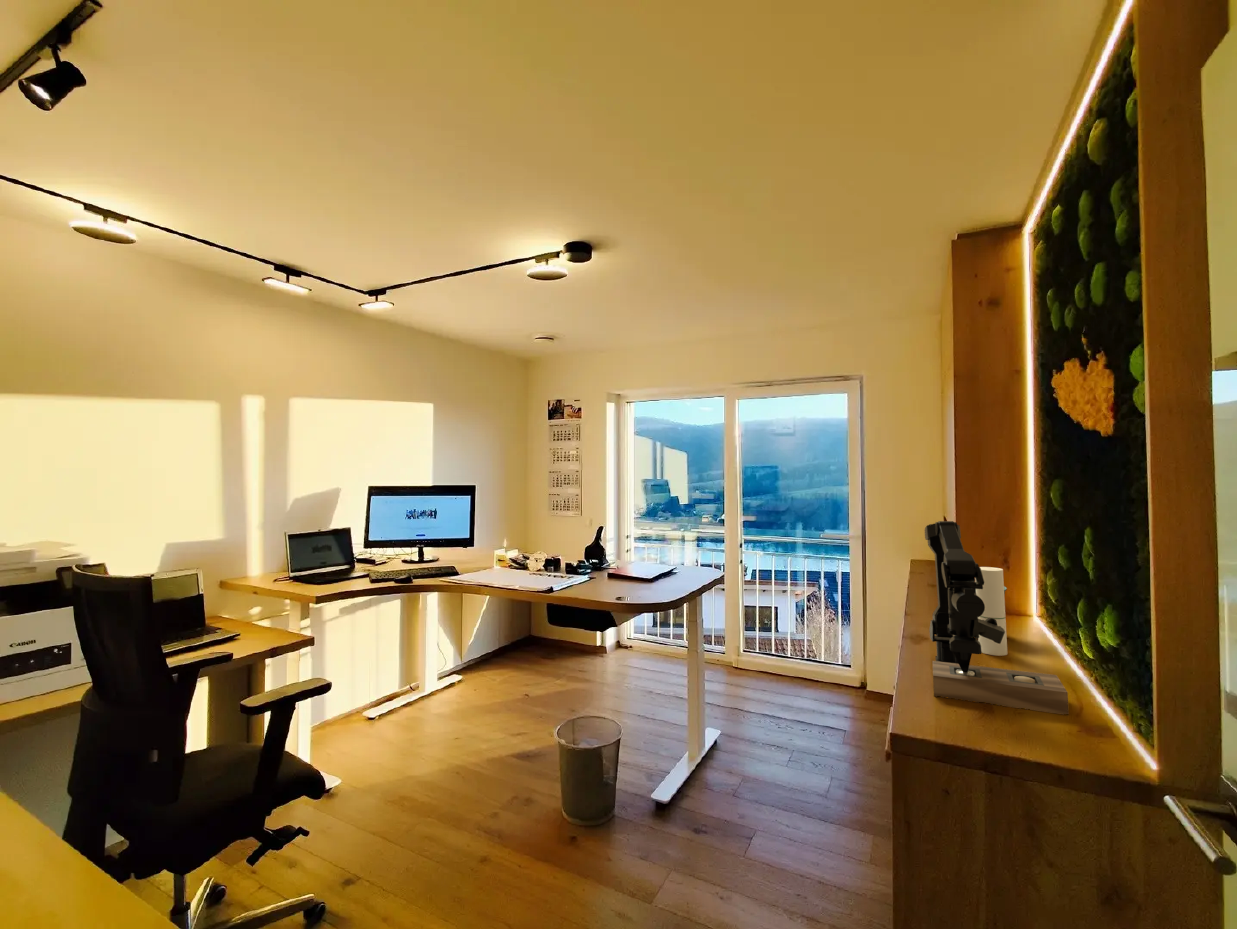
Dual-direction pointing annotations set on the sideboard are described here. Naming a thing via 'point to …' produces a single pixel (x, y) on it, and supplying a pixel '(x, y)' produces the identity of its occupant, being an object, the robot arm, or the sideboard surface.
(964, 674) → the metal peg
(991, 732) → the sideboard surface
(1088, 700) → the sideboard surface
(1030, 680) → the beech peg
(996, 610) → the cylindrical container
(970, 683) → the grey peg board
